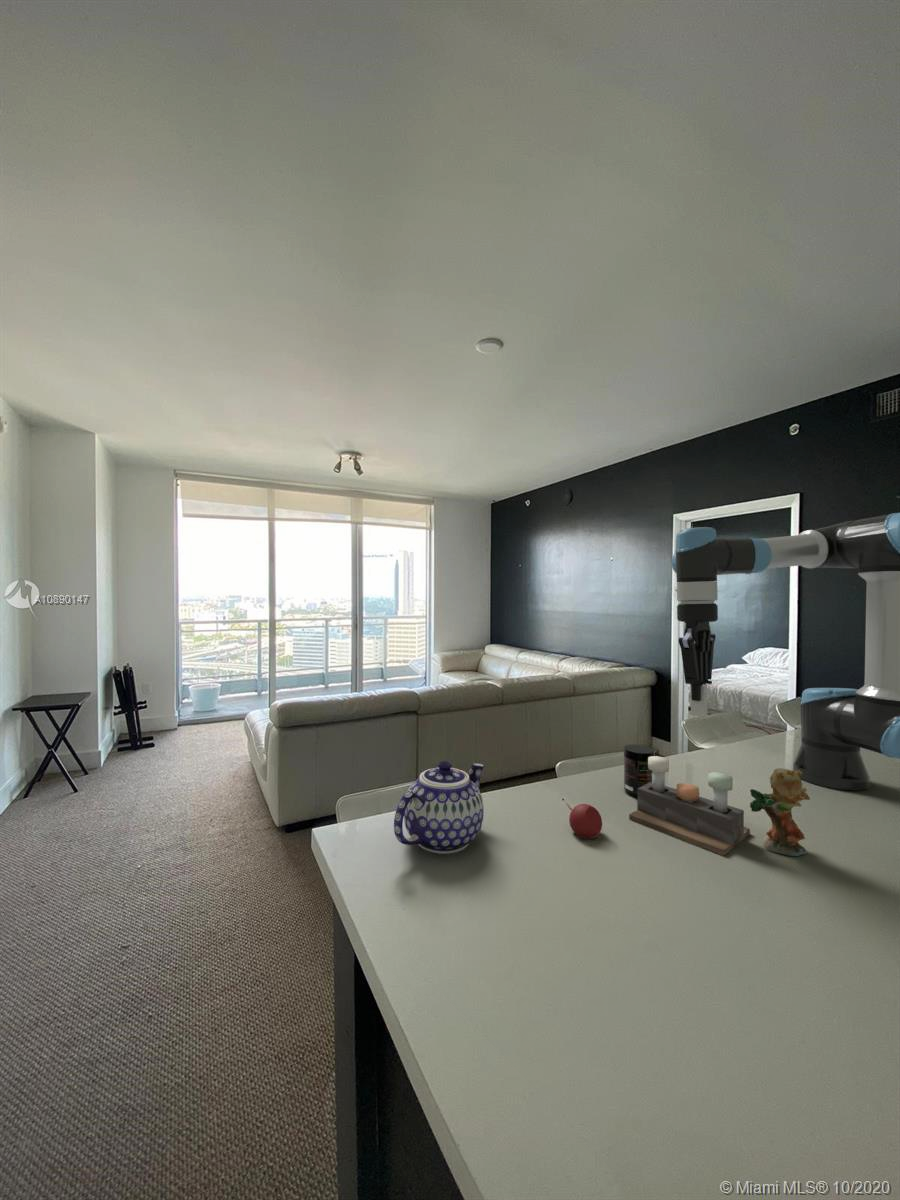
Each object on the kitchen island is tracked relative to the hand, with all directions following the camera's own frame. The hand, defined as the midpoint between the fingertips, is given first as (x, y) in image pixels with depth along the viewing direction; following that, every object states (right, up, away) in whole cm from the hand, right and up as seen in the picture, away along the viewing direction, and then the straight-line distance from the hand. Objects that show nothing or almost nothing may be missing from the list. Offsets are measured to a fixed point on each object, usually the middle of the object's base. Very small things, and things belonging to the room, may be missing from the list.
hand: (699, 715), depth 98 cm
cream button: (-8, -16, 0) cm, 18 cm away
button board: (-5, -21, -4) cm, 22 cm away
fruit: (-27, -21, -6) cm, 35 cm away
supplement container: (-8, -21, +12) cm, 26 cm away
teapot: (-53, -21, -10) cm, 58 cm away
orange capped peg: (-5, -20, -4) cm, 21 cm away
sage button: (-1, -16, -9) cm, 18 cm away
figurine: (+8, -21, -12) cm, 26 cm away
